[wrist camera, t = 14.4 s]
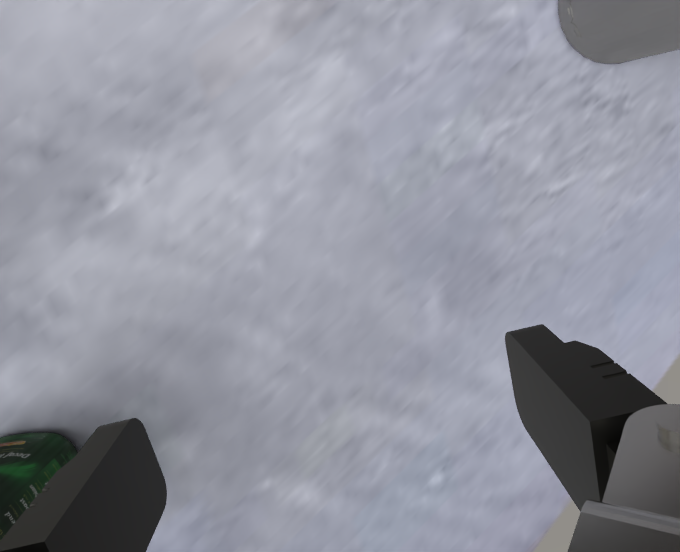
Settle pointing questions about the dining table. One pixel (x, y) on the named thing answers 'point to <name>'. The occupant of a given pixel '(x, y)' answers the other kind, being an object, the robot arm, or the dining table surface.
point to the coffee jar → (28, 470)
